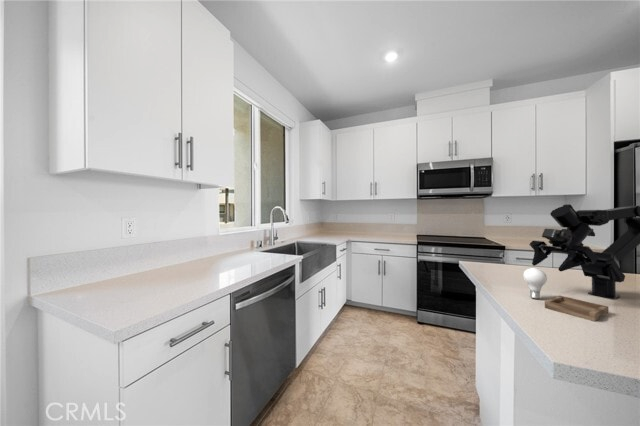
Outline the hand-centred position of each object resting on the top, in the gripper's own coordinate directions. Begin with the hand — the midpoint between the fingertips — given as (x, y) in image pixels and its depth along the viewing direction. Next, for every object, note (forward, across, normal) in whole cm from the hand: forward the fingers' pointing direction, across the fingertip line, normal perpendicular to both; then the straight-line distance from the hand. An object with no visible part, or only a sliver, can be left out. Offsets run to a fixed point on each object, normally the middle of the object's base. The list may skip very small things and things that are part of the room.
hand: (545, 267), depth 87 cm
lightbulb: (+11, 0, +5) cm, 12 cm away
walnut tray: (+9, +11, +6) cm, 16 cm away
